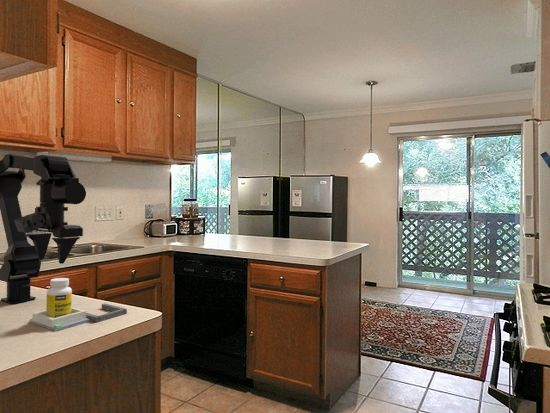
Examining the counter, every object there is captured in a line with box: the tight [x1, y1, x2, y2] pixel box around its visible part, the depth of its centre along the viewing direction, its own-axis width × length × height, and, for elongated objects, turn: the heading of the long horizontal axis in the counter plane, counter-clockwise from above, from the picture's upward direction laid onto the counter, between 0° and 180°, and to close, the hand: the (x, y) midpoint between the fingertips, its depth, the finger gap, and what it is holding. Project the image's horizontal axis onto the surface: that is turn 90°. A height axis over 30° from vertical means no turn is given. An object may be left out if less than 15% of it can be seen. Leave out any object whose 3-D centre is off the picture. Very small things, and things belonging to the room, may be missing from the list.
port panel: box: [28, 306, 90, 332], centre depth 95 cm, size 11×8×2 cm
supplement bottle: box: [45, 277, 73, 318], centre depth 95 cm, size 5×5×10 cm
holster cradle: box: [86, 303, 128, 323], centre depth 102 cm, size 9×9×1 cm
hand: (51, 261), depth 104 cm, fingers open, 9 cm apart
